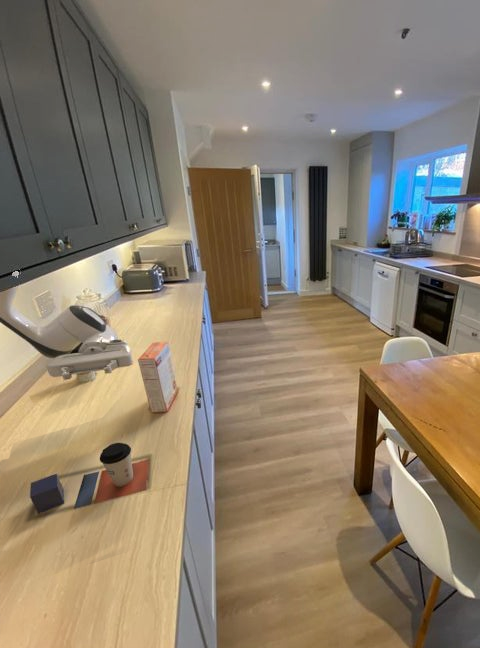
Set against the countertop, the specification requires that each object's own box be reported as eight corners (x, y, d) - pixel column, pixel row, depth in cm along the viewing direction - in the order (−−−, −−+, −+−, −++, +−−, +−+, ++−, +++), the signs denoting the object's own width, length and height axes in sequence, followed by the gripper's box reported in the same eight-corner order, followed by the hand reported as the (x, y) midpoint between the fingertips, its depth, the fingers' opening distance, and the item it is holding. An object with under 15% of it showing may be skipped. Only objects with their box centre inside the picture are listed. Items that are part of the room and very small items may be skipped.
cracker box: (162, 392, 124) (152, 341, 115) (178, 391, 124) (169, 341, 115) (149, 413, 111) (136, 358, 102) (167, 412, 111) (155, 358, 102)
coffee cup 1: (101, 378, 133) (92, 345, 127) (78, 386, 128) (67, 351, 121) (95, 371, 139) (85, 339, 132) (72, 378, 133) (61, 345, 127)
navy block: (39, 516, 73) (29, 497, 71) (39, 501, 77) (30, 482, 75) (65, 505, 76) (57, 486, 74) (64, 491, 80) (56, 473, 77)
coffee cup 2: (136, 465, 88) (128, 436, 84) (140, 482, 82) (131, 452, 78) (107, 476, 84) (97, 446, 80) (109, 494, 79) (98, 463, 75)
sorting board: (32, 523, 73) (31, 521, 72) (48, 484, 83) (47, 482, 82) (147, 492, 80) (147, 490, 80) (149, 460, 91) (149, 458, 90)
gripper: (52, 348, 91) (35, 370, 80) (131, 339, 98) (127, 357, 86) (59, 368, 94) (43, 391, 82) (135, 357, 101) (132, 377, 89)
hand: (87, 374), depth 84 cm, fingers open, 8 cm apart
